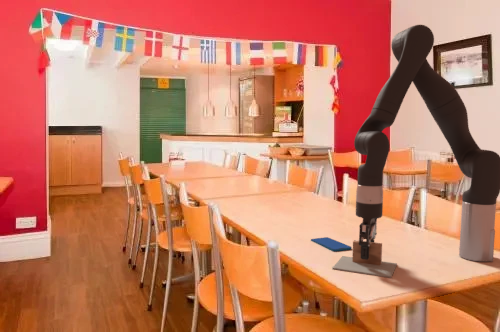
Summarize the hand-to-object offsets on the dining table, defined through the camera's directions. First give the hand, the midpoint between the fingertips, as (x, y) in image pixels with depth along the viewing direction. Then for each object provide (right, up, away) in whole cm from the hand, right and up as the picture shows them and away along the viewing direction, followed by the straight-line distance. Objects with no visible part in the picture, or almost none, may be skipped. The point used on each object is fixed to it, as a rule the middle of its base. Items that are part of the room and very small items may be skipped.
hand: (367, 255), depth 131 cm
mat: (-1, -3, -2) cm, 4 cm away
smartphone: (-7, -1, +20) cm, 21 cm away
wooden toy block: (0, -2, 0) cm, 2 cm away
